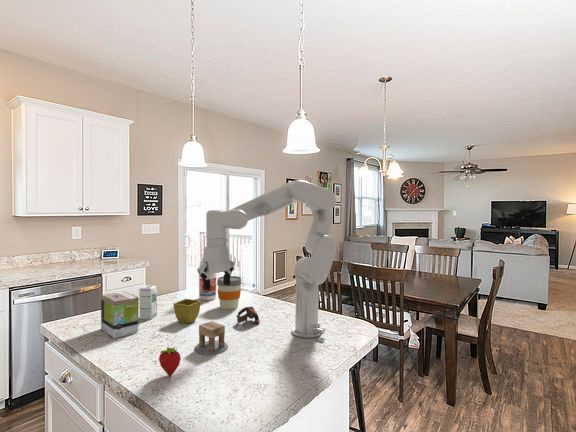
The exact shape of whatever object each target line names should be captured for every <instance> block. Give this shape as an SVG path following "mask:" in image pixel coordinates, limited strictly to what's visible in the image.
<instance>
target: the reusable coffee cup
mask: <svg viewBox="0 0 576 432" xmlns="http://www.w3.org/2000/svg"><path fill="white" fill-rule="evenodd" d="M241 285H242V278H241V277H240V276H236V275H230V285H224V275H223V276H219V277H218V278H217V279H216V286H217V298H218V299H219V307H220V309H221V310H225V309H231V310H236V309H238V307H239V300H240V298H241V291H242V288H241ZM235 308H236V309H235Z"/></svg>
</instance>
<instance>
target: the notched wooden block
mask: <svg viewBox="0 0 576 432" xmlns="http://www.w3.org/2000/svg"><path fill="white" fill-rule="evenodd" d="M225 334H226V325H223V324H221V323H219V322H216V321H213V320H211V321H207V322H205V323H202V324H199V325H198V336H199V337H198V339H199V341H198V344H199V347H201V348H202V347H205V341H206V337H207V338H208V341H209V351H210V352H213V351H215V340H216V338H217V337H218V341H219V348H223V347H224V342H225Z"/></svg>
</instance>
